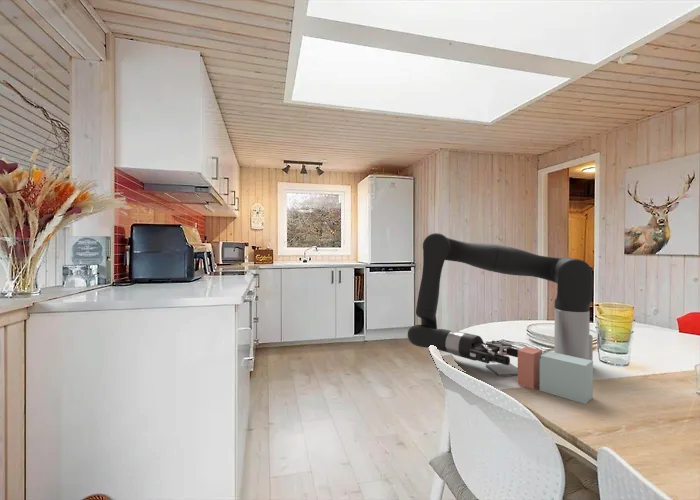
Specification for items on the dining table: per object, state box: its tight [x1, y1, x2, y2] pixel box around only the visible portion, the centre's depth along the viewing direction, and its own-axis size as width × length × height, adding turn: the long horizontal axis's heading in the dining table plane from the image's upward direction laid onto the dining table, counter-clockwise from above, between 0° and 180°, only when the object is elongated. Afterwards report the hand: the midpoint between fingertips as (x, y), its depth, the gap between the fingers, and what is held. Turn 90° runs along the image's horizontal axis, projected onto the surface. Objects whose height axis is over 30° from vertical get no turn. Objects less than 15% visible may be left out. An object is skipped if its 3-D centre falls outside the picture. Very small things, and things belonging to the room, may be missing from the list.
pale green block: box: [535, 350, 594, 405], centre depth 85 cm, size 11×6×9 cm, turn 40°
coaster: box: [485, 363, 518, 377], centre depth 100 cm, size 8×8×1 cm
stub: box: [517, 346, 543, 390], centre depth 91 cm, size 4×6×9 cm
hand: (516, 357), depth 94 cm, fingers open, 8 cm apart
